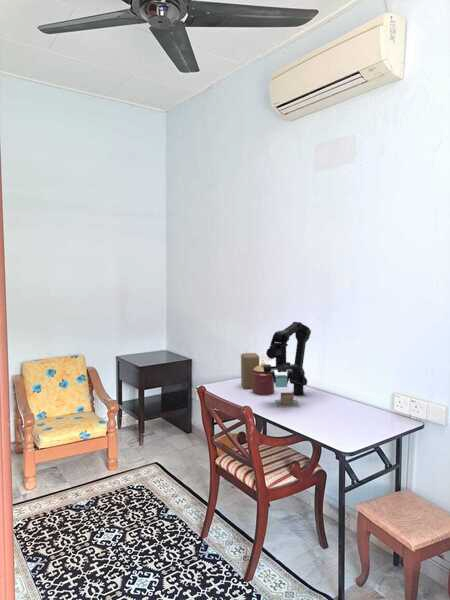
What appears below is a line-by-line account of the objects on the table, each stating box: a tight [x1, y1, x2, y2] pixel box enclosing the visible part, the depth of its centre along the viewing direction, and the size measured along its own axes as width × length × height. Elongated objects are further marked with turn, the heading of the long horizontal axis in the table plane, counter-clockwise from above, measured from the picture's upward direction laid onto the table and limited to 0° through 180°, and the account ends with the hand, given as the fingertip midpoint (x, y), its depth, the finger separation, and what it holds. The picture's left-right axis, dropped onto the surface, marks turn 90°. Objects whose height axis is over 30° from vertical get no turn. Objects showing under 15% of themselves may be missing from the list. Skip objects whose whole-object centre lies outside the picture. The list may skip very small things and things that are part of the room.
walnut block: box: [280, 391, 294, 405], centre depth 236 cm, size 6×6×5 cm
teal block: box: [274, 374, 288, 388], centre depth 237 cm, size 6×6×5 cm
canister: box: [251, 362, 275, 396], centre depth 257 cm, size 13×13×18 cm
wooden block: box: [240, 352, 260, 390], centre depth 269 cm, size 10×10×20 cm
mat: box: [274, 399, 301, 408], centre depth 236 cm, size 12×12×1 cm
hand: (281, 383), depth 237 cm, fingers closed on teal block, 6 cm apart
